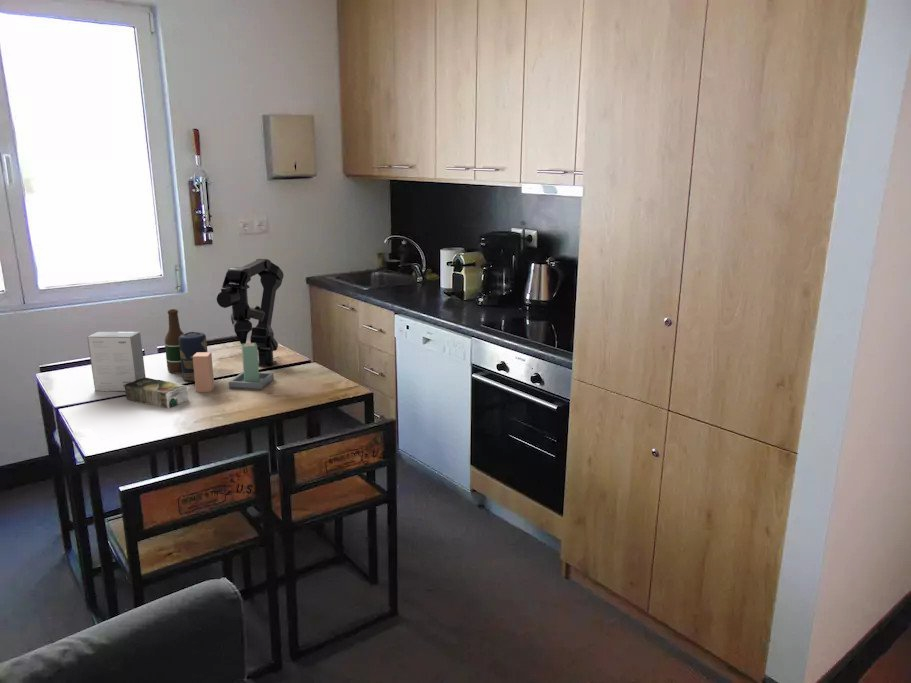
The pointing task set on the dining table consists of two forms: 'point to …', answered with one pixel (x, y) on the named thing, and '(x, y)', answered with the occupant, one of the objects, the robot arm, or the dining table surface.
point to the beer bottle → (173, 343)
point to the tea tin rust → (203, 371)
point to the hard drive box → (115, 359)
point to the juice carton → (156, 392)
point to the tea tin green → (250, 362)
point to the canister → (191, 351)
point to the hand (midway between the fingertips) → (242, 343)
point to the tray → (240, 384)
